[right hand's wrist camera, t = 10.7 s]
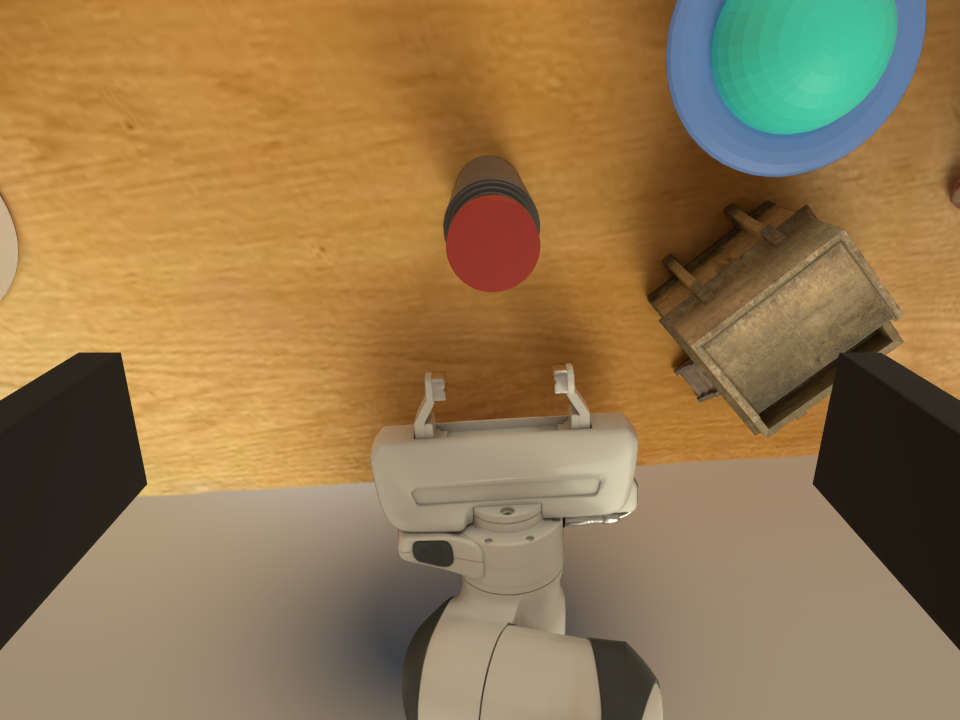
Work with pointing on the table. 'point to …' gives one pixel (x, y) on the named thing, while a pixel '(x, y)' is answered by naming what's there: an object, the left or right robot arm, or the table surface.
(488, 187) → the bottle
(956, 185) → the sculpture
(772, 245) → the miniature house
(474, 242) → the cap
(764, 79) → the toy flying saucer
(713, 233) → the table surface
